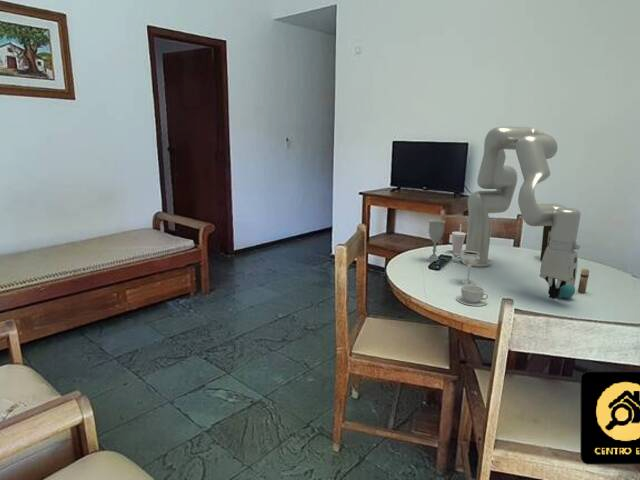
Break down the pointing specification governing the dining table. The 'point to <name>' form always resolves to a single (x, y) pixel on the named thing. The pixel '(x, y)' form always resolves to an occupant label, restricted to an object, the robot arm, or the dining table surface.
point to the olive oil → (545, 239)
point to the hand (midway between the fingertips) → (553, 297)
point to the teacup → (472, 295)
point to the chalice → (435, 235)
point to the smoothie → (458, 240)
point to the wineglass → (469, 262)
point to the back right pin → (583, 280)
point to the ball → (567, 291)
